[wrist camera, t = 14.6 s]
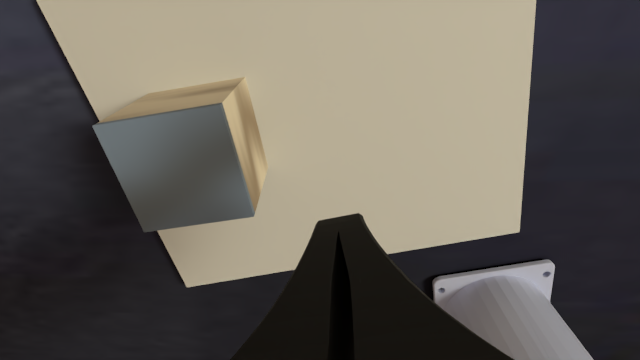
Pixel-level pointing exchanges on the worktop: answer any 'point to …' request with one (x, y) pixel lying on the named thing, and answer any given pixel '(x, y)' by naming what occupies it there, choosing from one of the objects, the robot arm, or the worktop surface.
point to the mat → (331, 112)
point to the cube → (187, 155)
